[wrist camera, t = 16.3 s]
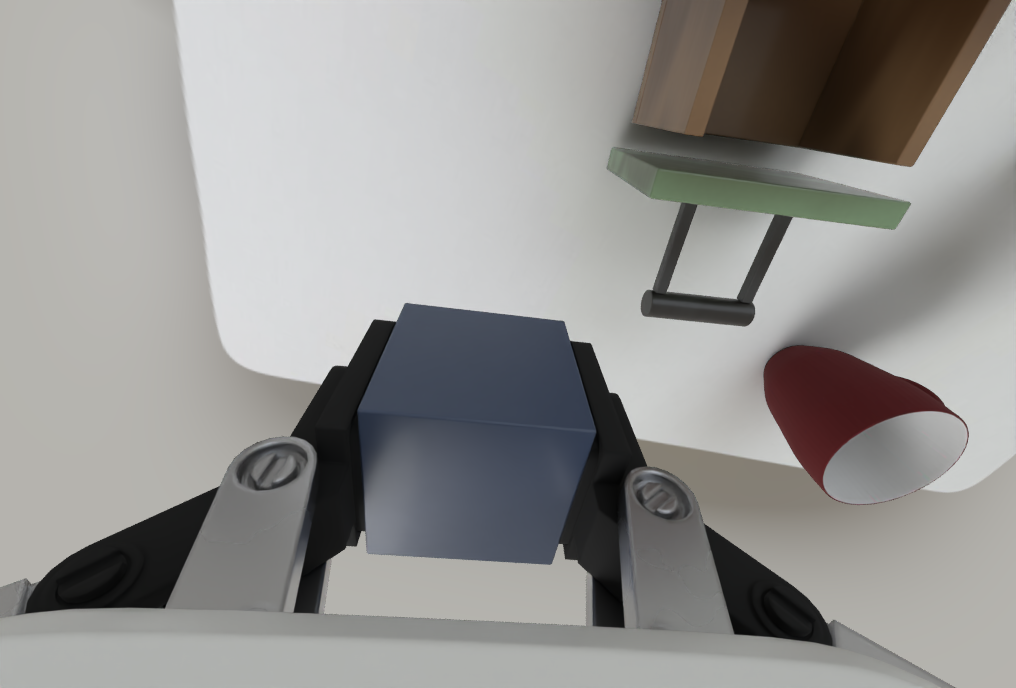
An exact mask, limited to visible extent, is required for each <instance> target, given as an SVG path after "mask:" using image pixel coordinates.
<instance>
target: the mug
mask: <svg viewBox="0 0 1016 688" xmlns="http://www.w3.org/2000/svg"><path fill="white" fill-rule="evenodd" d="M764 391H765V398H766V402H767V405H768V407H769V409H770V411H771V413H772V415H773V417H774V419H775V420H776V422H777V424H778V426H779V428H780V429H781V431H782V433H783V435H784V437H785V439H786V440H787V442H788V444H789V446H790V448H791V449H792V451H793V453H794V455H795V456H796V458H797V459H798V461H799V462H800V463H801V465H802V466H803V467H804V469H805V470H806V471H807V472H808V473H809V474H810V476H811V477H812V478H813V479H814V481H815V482H816V483H817V484H818V485H819V486H820V487H821V489H822V490H823V491H824V492H825V493H826V494H827V495H828V496H829V497H831V498H832V499H834V500H836V501H839V502H842V503H846V504H853V505H866V504H867V505H868V504H876V503H882V502H886V501H890V500H894V499H897V498H900V497H902V496H905V495H908V494H910V493H913V492H915V491H917V490H919V489H921V488H923V487H925V486H926V485H928V484H930V483H931V482H933V481H935V480H936V479H937V478H939V477H940V476H941V475H943V474H944V473H945V472H946V471H948V470H949V469H950V468H951V467H952V466H953V465H954V464H955V463H956V461H957V460H958V459H959V458H960V456H961V455H962V453H963V452H964V450H965V448H966V445H967V442H968V437H969V432H968V428H967V425H966V423H965V422H964V421H963V420H962V419H961V418H960V417H959V416H958V415H956V414H955V413H954V412H952V411H951V410H950V409H948V408H947V407H946V406H945V405H944V403H943V402H942V401H941V399H940V398H939V397H938V396H937V395H935V394H934V393H933V392H932V391H930V390H929V389H927V388H926V387H924V386H922V385H920V384H918V383H916V382H913V381H911V380H908V379H905V378H902V377H897V376H894V375H892V374H890V373H888V372H886V371H883V370H881V369H879V368H877V367H875V366H873V365H871V364H869V363H866V362H864V361H862V360H860V359H858V358H856V357H854V356H852V355H849V354H847V353H844V352H841V351H838V350H834V349H829V348H823V347H813V346H804V345H797V346H791V347H788V348H785V349H783V350H781V351H779V352H778V353H776V354H775V355H774V356H773V357H772V358H771V359H770V360H769V361H768V363H767V364H766V366H765V369H764Z"/></svg>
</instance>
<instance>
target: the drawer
mask: <svg viewBox="0 0 1016 688" xmlns="http://www.w3.org/2000/svg"><path fill="white" fill-rule="evenodd" d="M1010 2H1011V0H662V4H661V8H660V12H659V16H658V20H657V24H656V28H655V32H654V36H653V40H652V44H651V48H650V52H649V56H648V60H647V64H646V68H645V72H644V76H643V80H642V84H641V88H640V92H639V96H638V100H637V104H636V108H635V112H634V116H633V120H632V123H634V124H639V125H643V126H648V127H653V128H657V129H662V130H667V131H671V132H676V133H681V134H686V135H692V136H699V137H703V135H704V134H709V135H716V136H722V137H729V138H736V139H743V140H750V141H757V142H764V143H771V144H777V145H784V146H791V147H798V148H804V149H809V150H815V151H820V152H826V153H832V154H837V155H843V156H849V157H854V158H860V159H866V160H871V161H877V162H882V163H888V164H894V165H900V166H907V167H911V166H913V165H914V164H915V162H916V160H917V159H918V157H919V155H920V154H921V152H922V150H923V149H924V147H925V145H926V143H927V142H928V140H929V138H930V137H931V135H932V133H933V132H934V130H935V128H936V127H937V125H938V123H939V122H940V120H941V118H942V117H943V115H944V113H945V112H946V110H947V108H948V106H949V105H950V103H951V101H952V100H953V98H954V96H955V95H956V93H957V91H958V90H959V88H960V86H961V85H962V83H963V81H964V80H965V78H966V76H967V75H968V73H969V71H970V69H971V68H972V66H973V64H974V63H975V61H976V59H977V58H978V56H979V54H980V53H981V51H982V49H983V48H984V46H985V44H986V43H987V41H988V39H989V37H990V36H991V34H992V32H993V31H994V29H995V27H996V26H997V24H998V22H999V21H1000V19H1001V17H1002V16H1003V14H1004V12H1005V11H1006V9H1007V7H1008V6H1009V4H1010ZM607 169H608V170H609V171H611V172H612V173H614V174H615V175H617V176H618V177H620V178H621V179H623V180H624V181H626V182H627V183H628V184H630V185H631V186H633V187H634V188H636V189H637V190H639V191H640V192H642V193H643V194H645V195H646V196H648V197H649V198H651V199H659V200H666V201H674V202H682V203H681V206H680V209H679V212H678V215H677V218H676V221H675V224H674V227H673V230H672V233H671V236H670V239H669V242H668V245H667V248H666V250H665V253H664V256H663V259H662V262H661V265H660V268H659V271H658V274H657V277H656V280H655V283H654V286H653V290H647V291H646V292H645V293H644V295H643V297H642V301H641V312H642V314H643V316H646V317H656V318H666V319H675V320H685V321H695V322H705V323H714V324H724V325H734V326H748V325H749V324H750V323H751V322H752V321H753V318H754V315H755V307H754V304H753V303H752V301H753V299H754V297H755V295H756V292H757V290H758V288H759V286H760V284H761V282H762V280H763V278H764V276H765V274H766V272H767V270H768V268H769V265H770V263H771V261H772V259H773V257H774V255H775V253H776V251H777V249H778V247H779V245H780V243H781V241H782V238H783V236H784V234H785V232H786V230H787V228H788V226H789V224H790V222H791V220H792V218H793V217H798V218H806V219H814V220H821V221H829V222H837V223H845V224H852V225H860V226H868V227H876V228H883V229H891V230H893V229H896V227H897V226H898V224H899V223H900V221H901V219H902V218H903V216H904V214H905V213H906V211H907V210H908V208H909V206H910V205H911V203H910V202H907V201H903V200H899V199H896V198H892V197H888V196H884V195H880V194H877V193H873V192H869V191H865V190H861V189H857V188H854V187H850V186H846V185H842V184H838V183H834V182H831V181H827V180H823V179H819V178H815V177H812V176H808V175H804V174H800V173H795V172H788V171H781V170H774V169H766V168H759V167H752V166H745V165H738V164H731V163H723V162H716V161H709V160H702V159H695V158H688V157H680V156H673V155H666V154H659V153H652V152H645V151H637V150H630V149H623V148H616V147H612V149H611V153H610V157H609V161H608V166H607ZM697 205H705V206H713V207H721V208H728V209H736V210H744V211H752V212H759V213H767V214H775V215H774V218H773V220H772V222H771V224H770V226H769V228H768V231H767V233H766V235H765V237H764V239H763V242H762V244H761V246H760V248H759V250H758V253H757V255H756V257H755V259H754V261H753V263H752V266H751V268H750V270H749V272H748V274H747V277H746V279H745V281H744V283H743V285H742V287H741V290H740V292H739V294H738V296H737V299H729V298H720V297H711V296H702V295H692V294H683V293H674V292H667V289H668V286H669V283H670V281H671V278H672V275H673V272H674V269H675V266H676V264H677V261H678V258H679V255H680V252H681V250H682V247H683V244H684V241H685V238H686V236H687V233H688V230H689V227H690V224H691V222H692V219H693V216H694V213H695V210H696V208H697Z"/></svg>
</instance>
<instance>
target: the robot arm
mask: <svg viewBox="0 0 1016 688" xmlns="http://www.w3.org/2000/svg"><path fill="white" fill-rule="evenodd" d="M395 325H396V322H393V321H384V320H373V322H372V324H371V325H370V327H369V329H368V331H367V333H366V334H365V336H364V338H363V340H362V342H361V343H360V345H359V347H358V349H357V351H356V353H355V354H354V356H353V358H352V360H351V362H350V363H349V365H348V367H346V366H334V367H333V368H332V369H331V370H330V372H329V373H328V375H327V377H326V378H325V380H324V382H323V383H322V385H321V386H320V388H319V390H318V391H317V393H316V395H315V396H314V398H313V400H312V401H311V403H310V405H309V406H308V408H307V409H306V411H305V413H304V414H303V416H302V418H301V420H300V421H299V423H298V425H297V426H296V428H295V429H294V431H293V432H292V434H291V436H290V437H284V436H282V437H275V438H269V439H266V440H263V441H260V442H257V443H255V444H253V445H252V446H250V447H248V448H246V449H244V450H243V451H242V452H241V453H240V454H239V455H238V456H236V457H235V458H234V460H233V461H232V463H231V464H230V466H229V467H228V469H227V471H226V473H225V476H224V478H223V480H222V482H221V485H220V486H219V487H217V488H215V489H212V490H210V491H208V492H206V493H203V494H202V495H199V496H197V497H195V498H192V499H190V500H188V501H186V502H184V503H182V504H179V505H177V506H175V507H173V508H170V509H168V510H166V511H164V512H162V513H159V514H157V515H155V516H153V517H151V518H149V519H146V520H144V521H142V522H140V523H138V524H135V525H133V526H131V527H128V528H126V529H124V530H122V531H120V532H117V533H115V534H113V535H111V536H109V537H107V538H104V539H102V540H100V541H98V542H96V543H93V544H91V545H89V546H87V547H85V548H83V549H82V550H80V551H78V552H76V553H74V554H72V555H71V556H69V557H68V558H66V559H65V560H64V561H62V562H61V563H60V564H58V565H57V566H56V567H54V568H53V569H52V570H51V571H50V572H49V573H48V574H47V575H46V576H45V577H44V578H43V579H42V580H41V581H39V582H37V583H34V584H30V582H29V581H28V580H27V579H23V580H20V581H17V582H14V583H12V584H9V585H6V586H3V587H0V688H955V687H953V686H952V685H950V684H948V683H946V682H944V681H943V680H941V679H939V678H937V677H935V676H934V675H932V674H930V673H928V672H927V671H925V670H923V669H921V668H919V667H918V666H915V665H914V664H912V663H910V662H909V661H907V660H905V659H903V658H902V657H900V656H898V655H896V654H895V653H893V652H891V651H889V650H887V649H886V648H884V647H882V646H880V645H878V644H877V643H875V642H873V641H871V640H869V639H868V638H866V637H864V636H862V635H861V634H859V633H857V632H855V631H854V630H852V629H850V628H848V627H846V626H845V625H843V624H841V623H839V622H837V621H836V620H833V621H832V622H831V623H830V624H828V623H826V622H825V620H824V619H823V617H822V615H821V614H820V612H819V611H818V610H817V608H816V607H815V606H814V605H813V604H812V603H811V601H810V600H809V599H808V598H807V597H806V596H804V595H803V594H802V593H801V592H800V591H798V590H797V589H796V588H795V587H794V586H792V585H791V584H789V583H788V582H787V581H785V580H784V579H782V578H781V577H779V576H778V575H776V574H775V573H774V572H772V571H771V570H769V569H768V568H767V567H765V566H764V565H762V564H761V563H759V562H758V561H757V560H755V559H754V558H752V557H751V556H749V555H748V554H747V553H745V552H744V551H742V550H741V549H739V548H738V547H737V546H735V545H734V544H732V543H731V542H729V541H728V540H726V539H725V538H724V537H722V536H721V535H719V534H718V533H716V532H715V531H714V530H712V529H711V528H709V527H708V526H707V525H705V524H704V523H703V519H702V515H701V512H700V508H699V505H698V502H697V500H696V497H695V495H694V493H693V492H692V491H691V490H690V489H689V487H688V486H687V485H686V484H685V483H684V482H683V481H682V480H680V479H679V478H678V477H676V476H675V475H673V474H671V473H669V472H668V471H665V470H662V469H659V468H655V467H647V464H646V462H645V459H644V457H643V454H642V452H641V449H640V447H639V445H638V442H637V439H636V437H635V434H634V432H633V429H632V427H631V424H630V422H629V419H628V417H627V414H626V412H625V409H624V407H623V404H622V402H621V399H620V398H619V396H618V395H617V394H616V393H609V390H608V388H607V385H606V382H605V380H604V377H603V374H602V372H601V369H600V366H599V364H598V361H597V358H596V355H595V353H594V350H593V347H592V345H591V344H590V343H583V342H574V341H570V343H571V346H572V350H573V353H574V357H575V360H576V363H577V367H578V370H579V374H580V377H581V381H582V384H583V387H584V391H585V394H586V398H587V401H588V405H589V408H590V411H591V415H592V418H593V422H594V425H595V428H596V435H595V438H594V441H593V444H592V447H591V450H590V453H589V456H588V459H587V461H586V464H585V467H584V470H583V473H582V476H581V479H580V482H579V485H578V488H577V491H576V494H575V497H574V500H573V503H572V506H571V509H570V512H569V515H568V517H567V520H566V523H565V526H564V529H563V532H562V535H561V538H560V541H559V544H563V547H564V554H565V559H570V560H578V563H579V564H580V565H581V566H582V567H583V568H584V569H585V570H586V571H587V576H586V626H577V625H576V626H575V625H557V624H536V623H514V622H494V621H471V620H451V619H429V618H407V617H406V618H405V617H384V616H360V615H337V614H324V608H325V601H326V594H327V587H328V581H329V574H330V567H331V558H332V557H334V556H335V555H337V554H338V553H340V552H341V551H343V550H344V549H345V548H346V546H357V543H358V540H359V537H360V533H361V531H365V516H364V501H363V486H362V471H361V457H360V442H359V430H358V415H357V410H358V408H359V405H360V403H361V401H362V399H363V396H364V394H365V392H366V390H367V387H368V385H369V383H370V381H371V378H372V376H373V374H374V372H375V369H376V367H377V365H378V363H379V360H380V358H381V356H382V354H383V351H384V349H385V347H386V345H387V343H388V340H389V338H390V336H391V334H392V331H393V329H394V327H395Z"/></svg>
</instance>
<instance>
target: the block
mask: <svg viewBox="0 0 1016 688" xmlns="http://www.w3.org/2000/svg"><path fill="white" fill-rule="evenodd" d="M357 415H358V430H359V442H360V457H361V471H362V486H363V501H364V516H365V532H366V547H367V553H368V554H379V555H396V556H413V557H431V558H448V559H464V560H482V561H498V562H514V563H531V564H548V565H550V564H552V561H553V559H554V556H555V553H556V550H557V547H558V544H559V541H560V538H561V535H562V532H563V529H564V526H565V523H566V520H567V517H568V515H569V512H570V509H571V506H572V503H573V500H574V497H575V494H576V491H577V488H578V485H579V482H580V479H581V476H582V473H583V470H584V467H585V464H586V461H587V459H588V456H589V453H590V450H591V447H592V444H593V441H594V438H595V435H596V428H595V425H594V422H593V418H592V415H591V411H590V408H589V405H588V401H587V398H586V394H585V391H584V387H583V384H582V381H581V377H580V374H579V370H578V367H577V363H576V360H575V357H574V353H573V350H572V346H571V343H570V340H569V336H568V333H567V329H566V326H565V322H564V321H558V320H549V319H540V318H532V317H523V316H514V315H505V314H497V313H488V312H479V311H470V310H462V309H453V308H444V307H436V306H427V305H418V304H409V303H405V304H404V307H403V309H402V311H401V313H400V316H399V318H398V320H397V322H396V325H395V327H394V329H393V331H392V334H391V336H390V338H389V340H388V343H387V345H386V347H385V349H384V351H383V354H382V356H381V358H380V360H379V363H378V365H377V367H376V369H375V372H374V374H373V376H372V378H371V381H370V383H369V385H368V387H367V390H366V392H365V394H364V396H363V399H362V401H361V403H360V405H359V408H358V410H357Z"/></svg>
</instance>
